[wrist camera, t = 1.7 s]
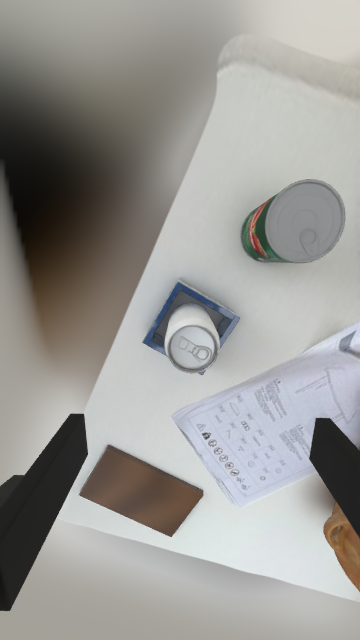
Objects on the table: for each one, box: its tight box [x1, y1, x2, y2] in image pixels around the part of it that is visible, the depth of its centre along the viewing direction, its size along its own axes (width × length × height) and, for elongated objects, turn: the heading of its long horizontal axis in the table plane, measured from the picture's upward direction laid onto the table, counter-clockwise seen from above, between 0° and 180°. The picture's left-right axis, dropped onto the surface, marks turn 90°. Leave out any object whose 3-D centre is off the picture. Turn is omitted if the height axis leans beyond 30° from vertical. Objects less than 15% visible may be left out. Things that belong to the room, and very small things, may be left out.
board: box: [79, 445, 203, 537], centre depth 45 cm, size 20×12×1 cm, turn 60°
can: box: [165, 303, 220, 373], centre depth 32 cm, size 6×6×12 cm
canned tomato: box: [241, 179, 345, 263], centre depth 29 cm, size 8×8×11 cm
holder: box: [142, 279, 240, 375], centre depth 36 cm, size 10×10×4 cm
